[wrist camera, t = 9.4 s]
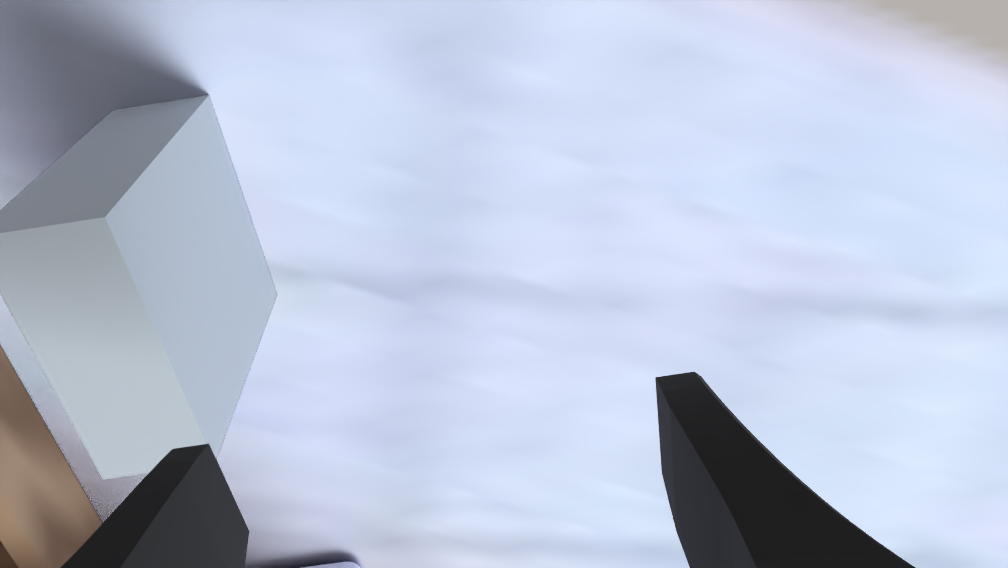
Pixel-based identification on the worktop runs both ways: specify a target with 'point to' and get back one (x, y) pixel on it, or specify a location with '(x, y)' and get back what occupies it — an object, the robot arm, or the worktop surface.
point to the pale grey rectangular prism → (140, 283)
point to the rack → (36, 486)
